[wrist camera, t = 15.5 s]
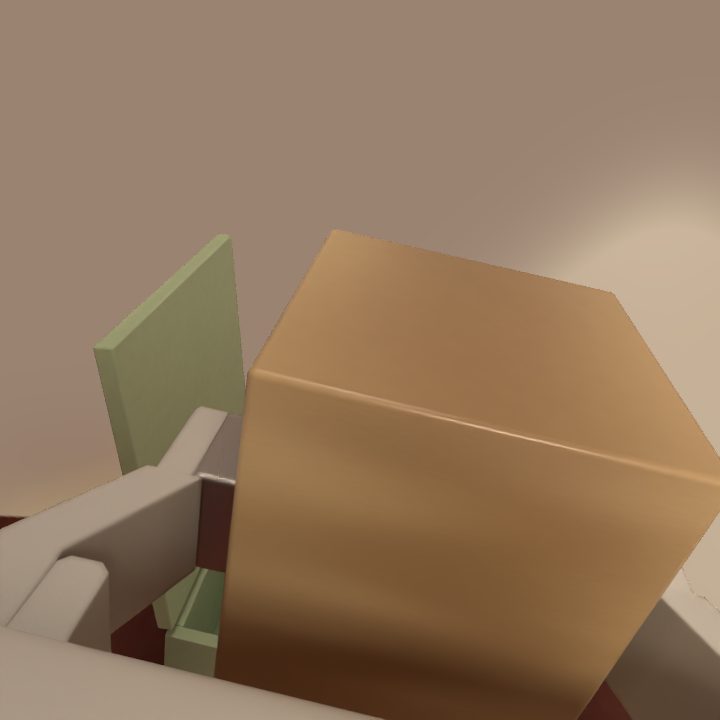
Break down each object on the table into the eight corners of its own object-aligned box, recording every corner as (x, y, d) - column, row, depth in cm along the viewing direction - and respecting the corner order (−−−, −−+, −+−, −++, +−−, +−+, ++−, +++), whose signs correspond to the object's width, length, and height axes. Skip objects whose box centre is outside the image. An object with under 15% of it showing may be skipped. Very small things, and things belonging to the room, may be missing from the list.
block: (199, 798, 9) (245, 370, 5) (272, 570, 13) (331, 226, 9) (478, 866, 9) (742, 486, 5) (469, 617, 13) (614, 291, 9)
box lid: (231, 234, 29) (218, 233, 29) (112, 348, 19) (91, 346, 19) (251, 456, 36) (240, 455, 36) (172, 630, 26) (157, 628, 26)
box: (416, 607, 41) (453, 509, 36) (406, 807, 31) (456, 705, 26) (232, 564, 41) (245, 460, 36) (160, 747, 31) (164, 635, 26)
